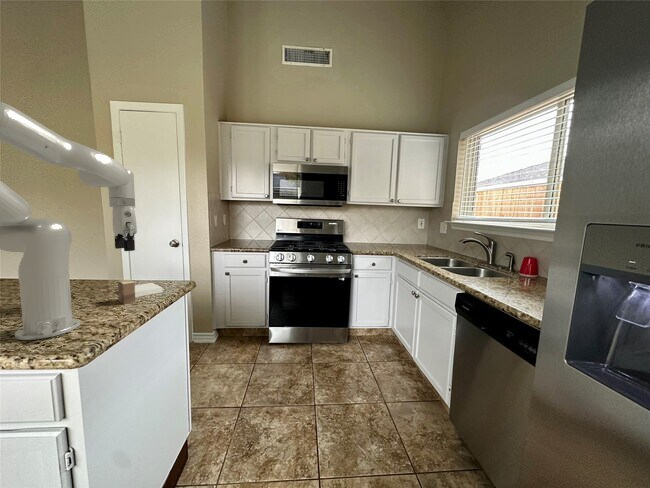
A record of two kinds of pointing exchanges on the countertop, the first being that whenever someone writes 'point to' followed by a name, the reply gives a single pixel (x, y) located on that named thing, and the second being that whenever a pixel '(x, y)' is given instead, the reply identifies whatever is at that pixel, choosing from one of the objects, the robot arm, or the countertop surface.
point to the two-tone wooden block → (126, 291)
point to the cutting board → (147, 289)
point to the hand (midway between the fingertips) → (124, 249)
